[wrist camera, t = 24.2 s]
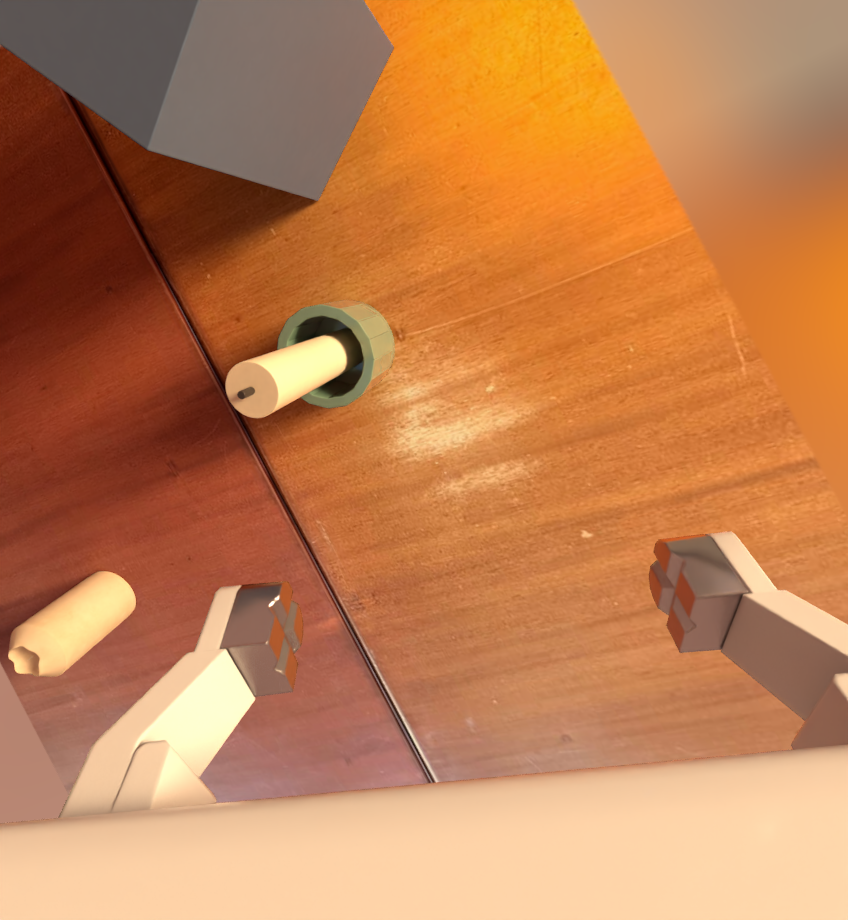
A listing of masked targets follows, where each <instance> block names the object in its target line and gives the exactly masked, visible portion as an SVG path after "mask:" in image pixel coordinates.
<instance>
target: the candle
mask: <svg viewBox="0 0 848 920" xmlns="http://www.w3.org/2000/svg"><path fill="white" fill-rule="evenodd" d="M135 606H136V598H135V594H134V592H133V590H132V588H131V587H130V585H129V584H128V583H127V582H126V581H125V580H124V579H123V578H121V577H120V576H118V575H116V574H114V573H112V572H107V571H100V572H96V573H94V574H92V575H91V576H89V577H88V578H86V579H85V580H83V581H82V582H80V583H79V584H78V585H76V586H75V587H73V588H72V589H70V590H69V591H68V592H66V593H65V594H63V595H62V596H60V597H59V598H58V599H56V600H55V601H53V602H52V603H50V604H49V605H48V606H46V607H45V608H43V609H42V610H40V611H39V612H38V613H36V614H35V615H33V616H32V617H30V618H29V619H28V620H26V621H25V622H23V623H22V624H20V625H19V626H18V627H16V628H15V629H14V630H13V632H12V634H11V638H10V646H9V653H8V658H9V659H10V660H11V661H13V662H14V668H15V671H16V672H17V673H19V674H31V675H33V676H40V677H56V676H59V675H61V674H62V673H64V672H65V671H66V670H67V669H68V668H69V667H71V666H72V665H73V664H74V663H75V662H76V661H77V660H79V659H80V658H81V657H82V656H83V655H84V654H86V653H87V652H88V651H89V650H90V649H91V648H92V647H94V646H95V645H96V644H97V643H98V642H99V641H101V640H102V639H103V638H104V637H105V636H106V635H107V634H109V633H110V632H111V631H112V630H113V629H114V628H116V627H117V626H118V625H119V624H120V623H121V622H122V621H124V620H125V619H126V618H127V617H128V616H129V615H130V614H131V613H132V612H133V610H134V609H135Z"/></svg>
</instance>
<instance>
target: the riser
mask: <svg viewBox="0 0 848 920" xmlns="http://www.w3.org/2000/svg"><path fill="white" fill-rule="evenodd" d="M0 45H2V46H3V47H4V48H6V49H7V50H9V51H10V52H11V53H13V54H14V55H16V56H17V57H18V58H20V59H21V60H22V61H24V62H25V63H27V64H28V65H29V66H31V67H32V68H34V69H35V70H36V71H38V72H39V73H40V74H42V75H43V76H45V77H46V78H47V79H49V80H50V81H52V82H53V83H54V84H56V85H57V86H59V87H60V88H61V89H63V90H64V91H65V92H67V93H68V94H70V95H71V96H72V97H74V98H75V99H77V100H78V101H79V102H81V103H82V104H84V105H85V106H86V107H88V108H89V109H90V110H92V111H93V112H95V113H96V114H97V115H99V116H100V117H102V118H103V119H104V120H106V121H107V122H109V123H110V124H111V125H113V126H114V127H115V128H117V129H118V130H120V131H121V132H122V133H124V134H125V135H127V136H128V137H129V138H131V139H132V140H133V141H135V142H136V143H138V144H139V145H140V146H142V147H143V148H145V149H146V150H148V151H151V152H154V153H158V154H161V155H164V156H168V157H171V158H174V159H178V160H181V161H184V162H188V163H191V164H195V165H198V166H201V167H205V168H208V169H211V170H215V171H218V172H221V173H225V174H228V175H232V176H235V177H238V178H242V179H245V180H248V181H252V182H255V183H258V184H262V185H265V186H268V187H272V188H275V189H279V190H282V191H285V192H289V193H292V194H295V195H299V196H302V197H305V198H309V199H312V200H315V201H318V200H319V198H320V196H321V194H322V192H323V190H324V188H325V186H326V184H327V182H328V180H329V178H330V176H331V174H332V172H333V170H334V168H335V166H336V164H337V162H338V160H339V158H340V156H341V154H342V151H343V149H344V147H345V145H346V143H347V141H348V139H349V137H350V135H351V133H352V131H353V129H354V127H355V125H356V123H357V121H358V119H359V117H360V115H361V113H362V111H363V109H364V107H365V105H366V103H367V101H368V99H369V97H370V95H371V93H372V91H373V89H374V87H375V85H376V83H377V81H378V79H379V77H380V75H381V73H382V71H383V69H384V67H385V65H386V63H387V61H388V59H389V57H390V55H391V53H392V51H393V49H394V47H393V45H392V44H391V42H390V41H389V39H388V37H387V36H386V34H385V33H384V31H383V30H382V28H381V27H380V25H379V23H378V22H377V20H376V19H375V17H374V16H373V14H372V12H371V11H370V9H369V8H368V6H367V5H366V3H365V2H364V0H0Z"/></svg>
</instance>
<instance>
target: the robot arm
mask: <svg viewBox="0 0 848 920" xmlns="http://www.w3.org/2000/svg"><path fill="white" fill-rule="evenodd" d="M654 554H655V556H656V558H657V559H658V560H656V561H655V562H654V563H653V564H652V565H651V566H650V572H649V582H650V590H651V593H652V596H653V599H654V601H655V603H656V605H657V607H658V608H659V609H660V610H661V611H663V612H664V613H666V614H667V615H669V617H668V621H667V625H666V626H667V628H668V630H669V632H670V634H671V636H672V638H673V640H674V642H675V644H676V646H677V648H678V650H679V652H680V653H682V652H695V651H709V650H721V652H722V653H723V654H725V655H726V656H727V657H728V658H729V659H731V660H732V661H733V662H734V663H735V664H737V665H738V666H739V667H740V668H742V669H743V670H744V671H745V672H746V673H748V674H749V675H750V676H751V677H752V678H754V679H755V680H756V681H757V682H758V683H760V684H761V685H762V686H763V687H765V688H766V689H767V690H768V691H769V692H771V693H772V694H773V695H774V696H775V697H777V698H778V699H779V700H780V701H782V702H783V703H784V704H785V705H786V706H788V707H789V708H790V709H791V710H792V711H794V712H795V713H796V714H797V715H799V716H800V717H801V718H802V719H803V720H805V722H804V724H803V725H802V727H801V728H800V730H799V732H798V733H797V735H796V736H795V738H794V740H793V742H792V744H791V746H792V748H793V750H782V751H771V752H761V753H750V754H739V755H728V756H717V757H707V758H696V759H685V760H674V761H664V762H653V763H642V764H631V765H620V766H610V767H599V768H588V769H577V770H566V771H556V772H545V773H534V774H523V775H513V776H502V777H491V778H481V779H470V780H459V781H448V782H438V783H427V784H416V785H406V786H395V787H384V788H374V789H363V790H352V791H342V792H331V793H320V794H310V795H299V796H288V797H278V798H267V799H256V800H246V801H235V802H224V803H216V800H217V799H216V798H215V796H214V794H213V793H212V792H211V791H210V789H209V788H208V787H207V786H206V785H205V784H204V783H203V782H202V780H201V779H200V778H199V777H200V776H201V774H202V773H203V771H204V770H205V769H206V767H207V766H208V764H209V763H210V762H211V760H212V759H213V757H214V756H215V755H216V753H217V752H218V751H219V749H220V748H221V746H222V745H223V744H224V742H225V741H226V739H227V738H228V737H229V735H230V734H231V732H232V731H233V730H234V728H235V727H236V725H237V724H238V723H239V721H240V720H241V719H242V717H243V716H244V714H245V713H246V712H247V710H248V709H249V707H250V706H251V705H252V703H253V702H254V700H255V697H258V696H265V695H273V694H281V693H288V692H293V690H294V685H295V679H296V673H297V668H298V662H297V660H296V658H295V655H294V653H295V652H296V651H297V650H298V649H299V648H300V647H301V645H302V638H303V618H302V613H301V609H300V607H299V604H298V603H296V602H294V601H293V600H291V599H292V594H293V590H292V588H291V586H290V584H289V582H286V581H283V582H271V583H259V584H248V585H239V586H228V587H220V588H219V589H218V591H217V592H216V593H215V595H214V598H213V600H212V603H211V606H210V609H209V611H208V614H207V617H206V620H205V622H204V625H203V628H202V631H201V633H200V636H199V639H198V642H197V644H196V647H195V650H194V652H189V653H186V654H185V655H184V656H183V657H182V658H181V659H180V660H179V661H178V662H177V663H176V664H175V665H174V666H173V667H172V668H171V669H170V670H169V671H168V672H167V673H166V674H165V675H164V676H163V677H162V678H161V679H160V680H159V681H158V682H157V683H156V684H155V685H153V686H152V687H151V688H150V689H149V690H148V691H147V692H146V693H145V694H144V695H143V696H142V697H141V698H140V699H139V700H138V701H137V702H136V703H135V704H134V705H133V706H132V707H131V708H130V709H129V710H128V711H127V712H126V713H125V714H124V715H123V716H122V717H121V718H120V719H118V720H117V721H116V722H115V723H114V724H113V725H112V726H111V727H110V728H109V729H108V730H107V731H106V732H105V733H104V734H103V735H102V736H101V737H100V738H99V739H98V740H97V741H96V742H95V743H94V744H93V745H92V746H91V749H90V751H89V753H88V755H87V757H86V759H85V761H84V764H83V766H82V768H81V770H80V772H79V774H78V776H77V779H76V781H75V783H74V785H73V787H72V789H71V791H70V794H69V796H68V798H67V800H66V802H65V804H64V807H63V809H62V811H61V813H60V815H59V817H58V818H54V819H43V820H32V821H21V822H11V823H0V920H848V625H847V624H846V623H844V622H842V621H840V620H838V619H837V618H835V617H833V616H831V615H829V614H828V613H826V612H824V611H822V610H820V609H819V608H817V607H815V606H813V605H811V604H810V603H808V602H806V601H804V600H803V599H801V598H799V597H797V596H795V595H794V594H792V593H790V592H788V591H786V590H777V589H776V587H775V586H774V585H773V583H772V582H771V581H770V579H769V578H768V577H767V576H766V574H765V573H764V572H763V570H762V569H761V568H760V566H759V565H758V564H757V562H756V561H755V560H754V558H753V557H752V556H751V554H750V553H749V552H748V550H747V549H746V548H745V546H744V545H743V544H742V542H741V541H740V540H739V538H738V537H737V536H736V534H734V533H732V532H731V531H728V532H720V533H711V534H705V535H704V534H700V535H692V536H683V537H675V538H667V539H659V540H658V541H657V542H656V544H655V548H654Z"/></svg>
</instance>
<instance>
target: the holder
mask: <svg viewBox="0 0 848 920" xmlns="http://www.w3.org/2000/svg"><path fill="white" fill-rule="evenodd" d="M344 328H349V329H351V330H352V332H353V333H354V335H355V336H356V338H357V339H358V341H359V342H360V344H361V349H362V353H363V357H364V359H363V361H362V362H361V363H360V364H358V365H357V366H355V367H353V368H351V369H350V370H348V371H346V372H344V373H342V374H341V375H339V376H337V377H335V378H334V379H332V380H330V381H328V382H327V383H325V384H323V385H321V386H319V387H318V388H316V389H314V390H312V391H311V392H309V393H307V394H305V395H303V396H302V397H300V398H302V399H303V400H305V401H306V402H307V403H309V404H312V405H316V406H320V407H324V408H336V407H343V406H346V405H348V404H350V403H352V402H353V401H355V400H356V399H358V398H359V397H361V396H362V395H363V394H365V393H366V392H367V391H369V390H370V389H371V388H373V387H374V386H375V385H377V384H378V383H379V382H380V381H381V380H382V379H383V378H384V377H385V376H386V374H387V373H388V371H389V370H390V368H391V365H392V363H393V359H394V352H395V344H394V338H393V334H392V331H391V329H390V327H389V325H388V323H387V321H386V320H385V319H384V317H383V316H382V315H381V314H380V313H379V312H378V311H377V310H376V309H374V308H373V307H371V306H370V305H368V304H365V303H363V302H360V301H355V300H341V301H336V302H330V303H325V304H319V305H314V306H310V307H305V308H302V309H300V310H299V311H298V312H296V313H295V314H294V315H292V316H291V317H290V318H289V319H288V320H287V321H286V323H285V325H284V327H283V329H282V331H281V333H280V335H279V337H278V345H277V350H279V349H282V348H285V347H288V346H291V345H295V344H298V343H301V342H304V341H307V340H310V339H313V338H316V337H319V336H322V335H325V334H328V333H331V332H334V331H337V330H340V329H344Z"/></svg>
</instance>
